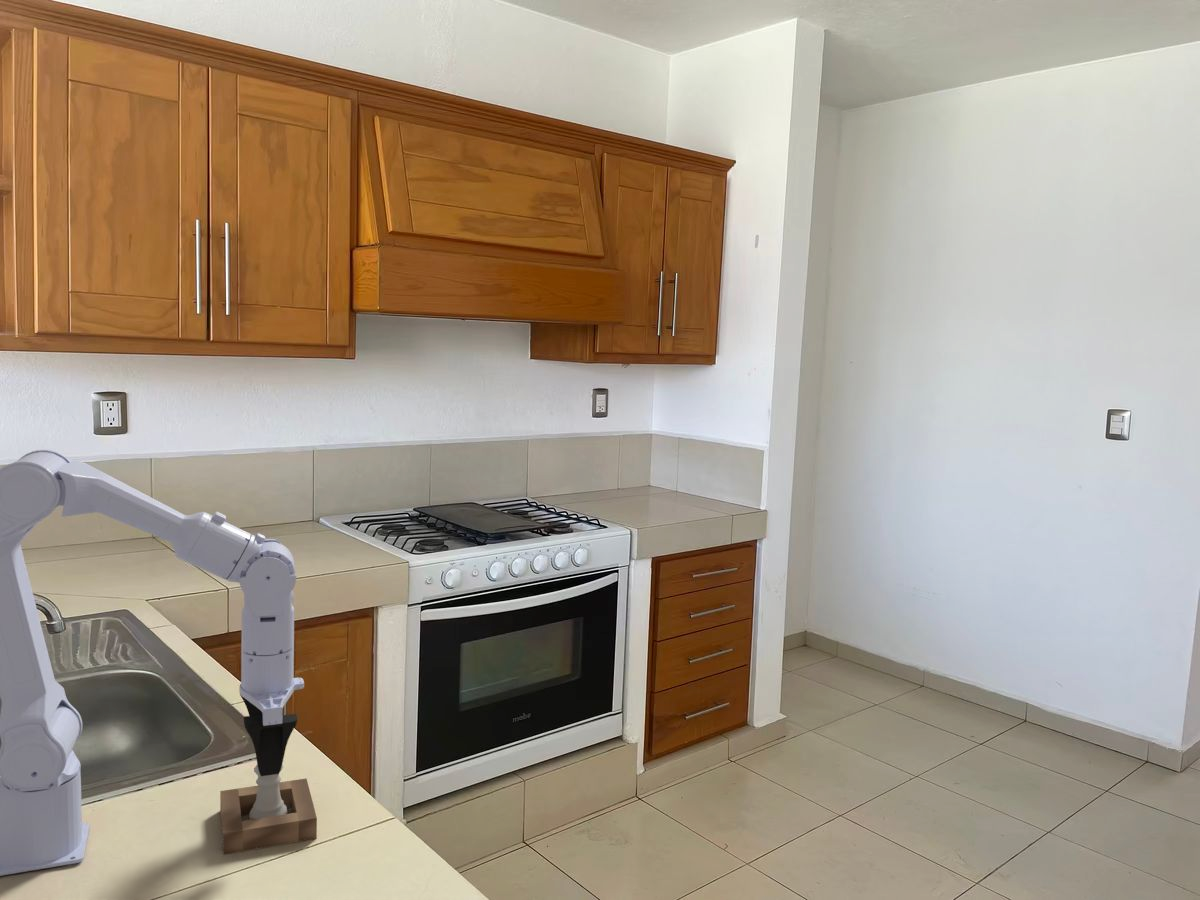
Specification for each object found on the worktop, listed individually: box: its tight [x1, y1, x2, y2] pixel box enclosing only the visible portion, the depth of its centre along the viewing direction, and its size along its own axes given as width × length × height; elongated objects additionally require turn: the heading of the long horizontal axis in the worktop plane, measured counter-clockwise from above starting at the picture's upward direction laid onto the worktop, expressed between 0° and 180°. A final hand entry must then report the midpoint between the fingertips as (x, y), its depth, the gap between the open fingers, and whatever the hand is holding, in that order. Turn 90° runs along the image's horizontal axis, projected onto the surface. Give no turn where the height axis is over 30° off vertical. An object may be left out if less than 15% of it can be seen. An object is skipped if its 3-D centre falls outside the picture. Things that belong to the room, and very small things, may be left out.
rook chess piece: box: [248, 764, 288, 820], centre depth 109 cm, size 4×4×8 cm
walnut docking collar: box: [219, 778, 318, 855], centre depth 109 cm, size 10×10×2 cm
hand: (267, 758), depth 108 cm, fingers open, 7 cm apart
